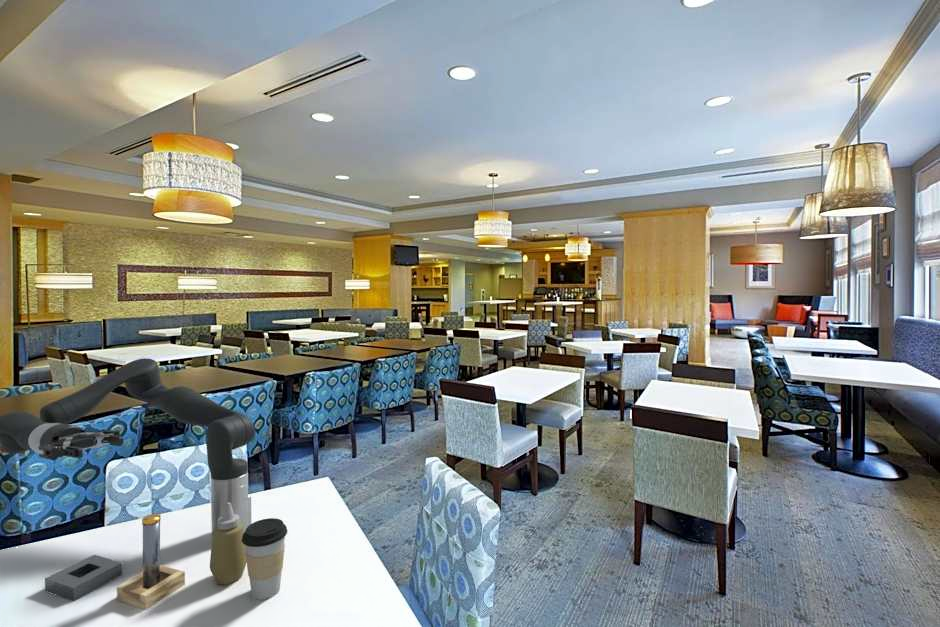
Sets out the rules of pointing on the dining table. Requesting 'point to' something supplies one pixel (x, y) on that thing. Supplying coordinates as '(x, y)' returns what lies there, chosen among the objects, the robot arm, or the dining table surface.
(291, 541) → the dining table surface
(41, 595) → the dining table surface
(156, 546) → the steel rod
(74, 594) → the socket block
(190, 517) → the dining table surface
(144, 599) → the oak tray
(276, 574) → the coffee cup
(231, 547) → the squeeze bottle
